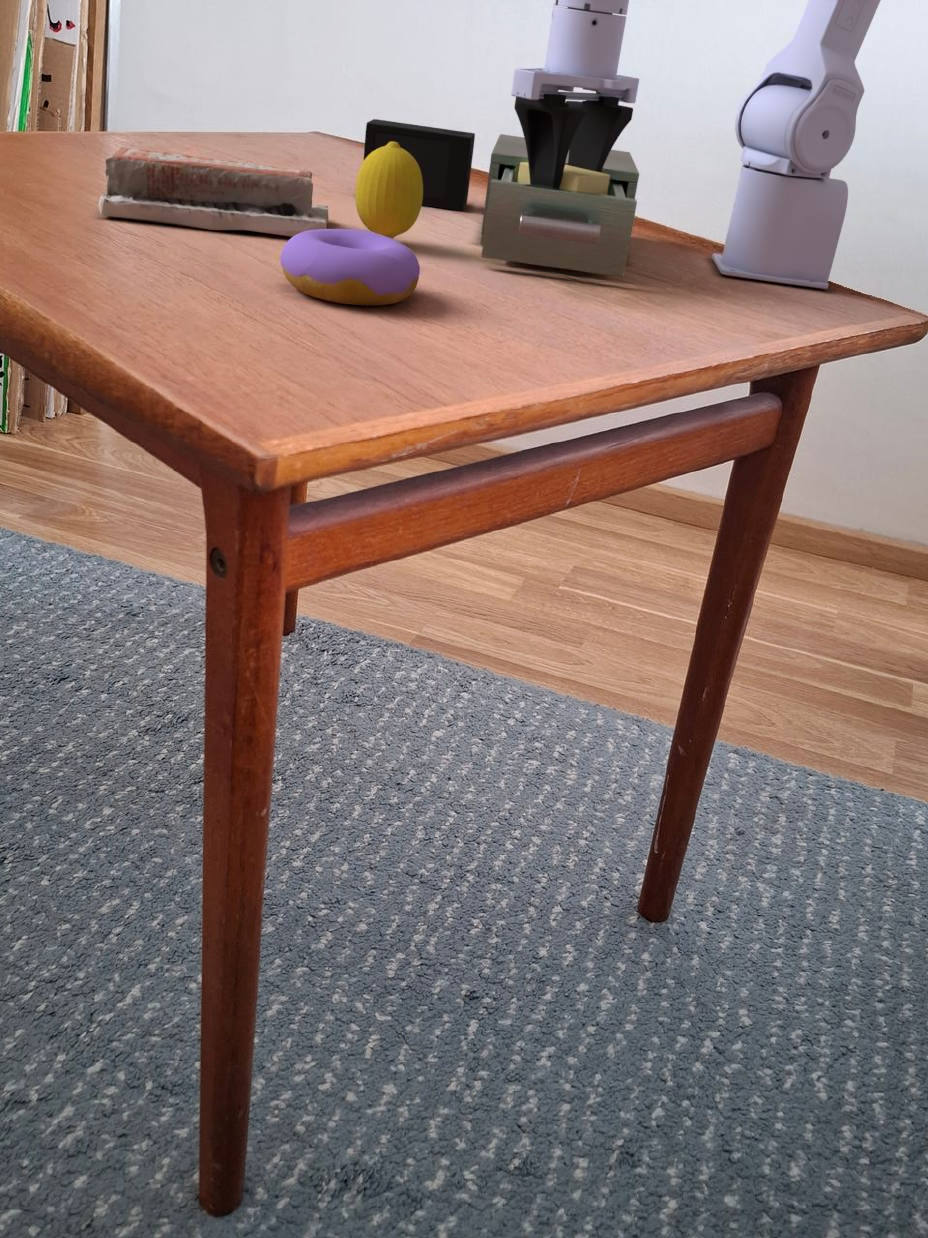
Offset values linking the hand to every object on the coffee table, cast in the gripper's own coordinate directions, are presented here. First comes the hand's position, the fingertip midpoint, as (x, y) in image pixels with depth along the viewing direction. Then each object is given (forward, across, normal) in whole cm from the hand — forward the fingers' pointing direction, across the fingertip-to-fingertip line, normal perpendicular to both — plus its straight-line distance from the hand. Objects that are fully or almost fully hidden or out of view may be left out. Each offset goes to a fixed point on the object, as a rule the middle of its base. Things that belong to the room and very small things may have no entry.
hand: (561, 195), depth 98 cm
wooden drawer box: (+6, +9, +7) cm, 13 cm away
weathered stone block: (+6, -18, +22) cm, 29 cm away
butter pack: (+1, 0, 0) cm, 1 cm away
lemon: (+6, -9, +10) cm, 15 cm away
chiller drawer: (+5, -1, -1) cm, 5 cm away
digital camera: (+6, +10, +24) cm, 27 cm away
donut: (+6, -25, -1) cm, 25 cm away
